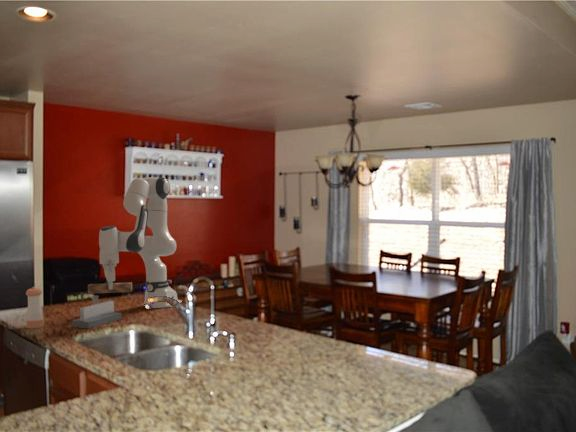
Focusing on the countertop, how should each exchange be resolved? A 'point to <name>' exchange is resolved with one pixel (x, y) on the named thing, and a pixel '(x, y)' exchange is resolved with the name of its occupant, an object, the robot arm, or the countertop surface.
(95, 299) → the flask
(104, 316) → the ridge stand
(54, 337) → the countertop surface
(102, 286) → the walnut rod
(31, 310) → the pepper shaker
